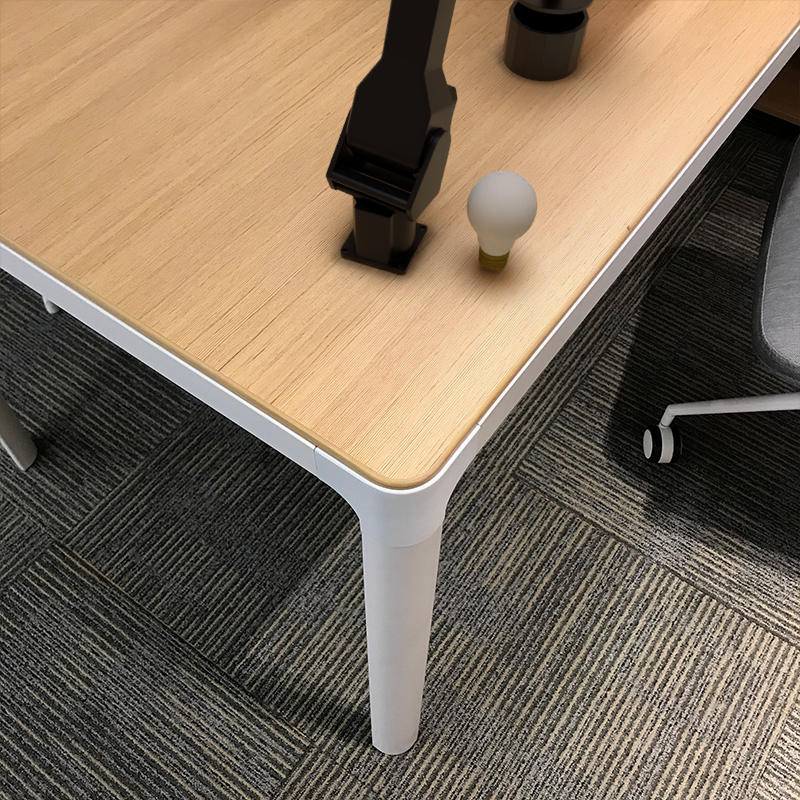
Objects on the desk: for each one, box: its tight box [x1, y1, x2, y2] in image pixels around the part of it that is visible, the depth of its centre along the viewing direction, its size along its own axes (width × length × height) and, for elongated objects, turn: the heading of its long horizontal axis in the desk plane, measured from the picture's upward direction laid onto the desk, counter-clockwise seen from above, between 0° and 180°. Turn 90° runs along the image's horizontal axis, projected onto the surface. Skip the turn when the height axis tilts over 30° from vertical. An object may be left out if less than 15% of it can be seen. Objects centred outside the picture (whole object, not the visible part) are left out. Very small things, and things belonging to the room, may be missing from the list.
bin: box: [502, 0, 590, 82], centre depth 88 cm, size 9×9×6 cm
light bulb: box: [466, 170, 538, 272], centre depth 66 cm, size 6×6×10 cm
